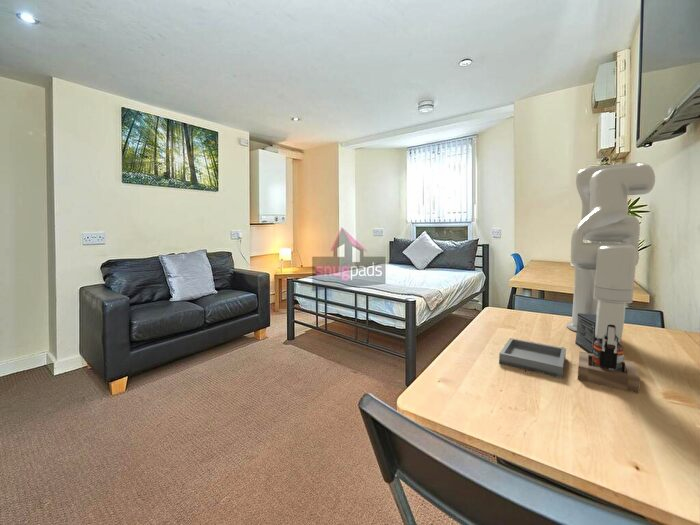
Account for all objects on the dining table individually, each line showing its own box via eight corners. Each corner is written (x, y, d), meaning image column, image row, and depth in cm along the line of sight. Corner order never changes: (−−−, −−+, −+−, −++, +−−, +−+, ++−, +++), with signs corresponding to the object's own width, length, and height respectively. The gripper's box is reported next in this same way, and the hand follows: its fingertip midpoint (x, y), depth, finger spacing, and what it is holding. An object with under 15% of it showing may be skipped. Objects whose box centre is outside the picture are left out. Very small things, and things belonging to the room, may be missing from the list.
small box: (617, 357, 91) (620, 323, 89) (592, 356, 92) (595, 322, 91) (596, 344, 101) (599, 313, 100) (574, 343, 102) (576, 312, 101)
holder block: (578, 363, 88) (579, 351, 87) (633, 374, 81) (634, 361, 80) (577, 379, 79) (578, 366, 78) (638, 393, 72) (639, 379, 71)
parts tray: (509, 346, 100) (510, 337, 100) (565, 358, 91) (565, 348, 91) (499, 363, 88) (499, 353, 88) (561, 378, 79) (562, 367, 79)
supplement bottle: (585, 372, 82) (588, 331, 81) (605, 370, 83) (609, 330, 81) (605, 383, 76) (609, 339, 75) (627, 381, 77) (631, 338, 76)
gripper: (593, 287, 86) (588, 348, 88) (594, 299, 73) (588, 371, 75) (629, 290, 81) (623, 354, 84) (637, 303, 68) (629, 380, 70)
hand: (606, 361), depth 79 cm, fingers closed on supplement bottle, 6 cm apart
